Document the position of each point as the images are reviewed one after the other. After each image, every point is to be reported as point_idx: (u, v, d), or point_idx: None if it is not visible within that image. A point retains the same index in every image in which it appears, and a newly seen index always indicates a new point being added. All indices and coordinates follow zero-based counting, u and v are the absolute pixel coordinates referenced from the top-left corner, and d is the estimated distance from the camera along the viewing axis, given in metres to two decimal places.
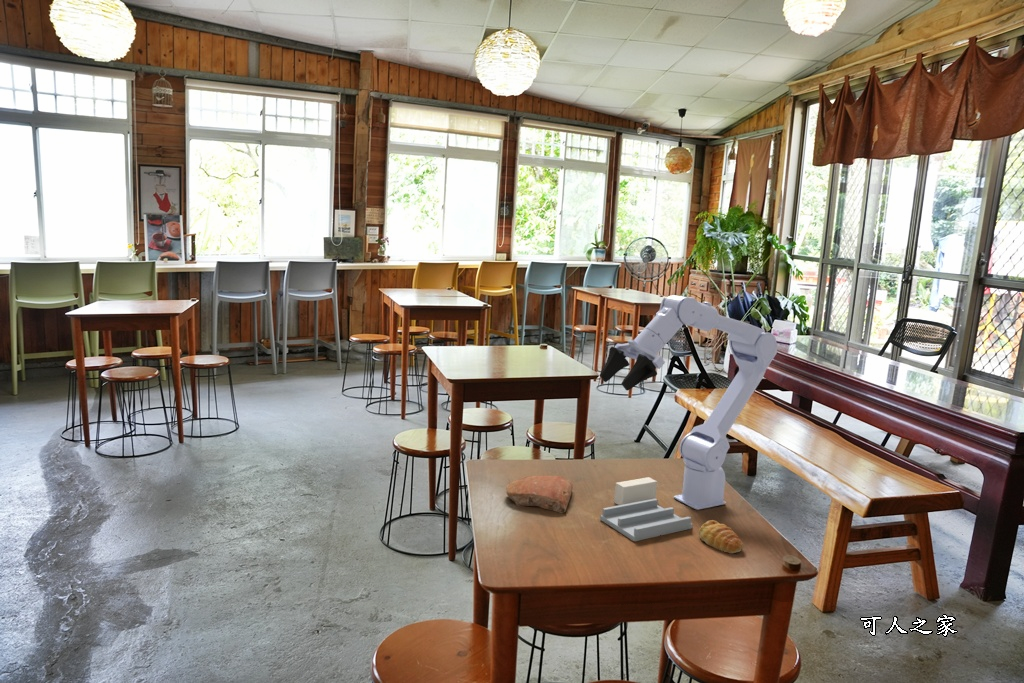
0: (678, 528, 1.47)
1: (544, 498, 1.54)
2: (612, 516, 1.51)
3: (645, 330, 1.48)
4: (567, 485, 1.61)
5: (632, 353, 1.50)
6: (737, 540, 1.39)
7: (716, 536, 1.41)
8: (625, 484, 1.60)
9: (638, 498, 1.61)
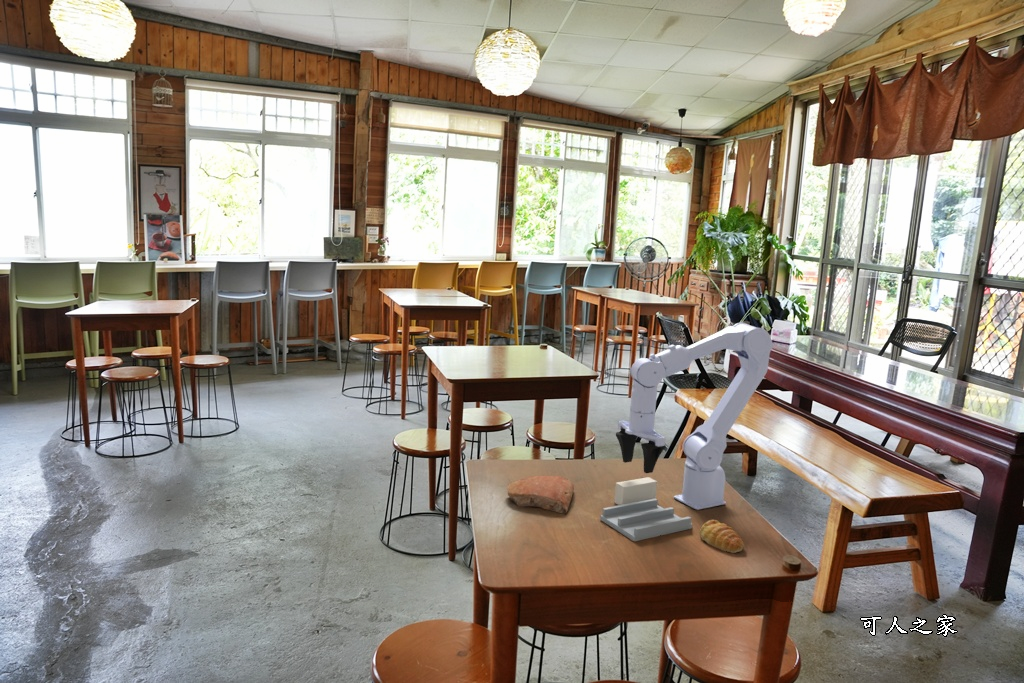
0: (678, 528, 1.47)
1: (546, 498, 1.54)
2: (612, 516, 1.51)
3: (632, 413, 1.58)
4: (568, 486, 1.61)
5: None
6: (738, 539, 1.39)
7: (718, 536, 1.41)
8: (625, 484, 1.60)
9: (638, 498, 1.61)
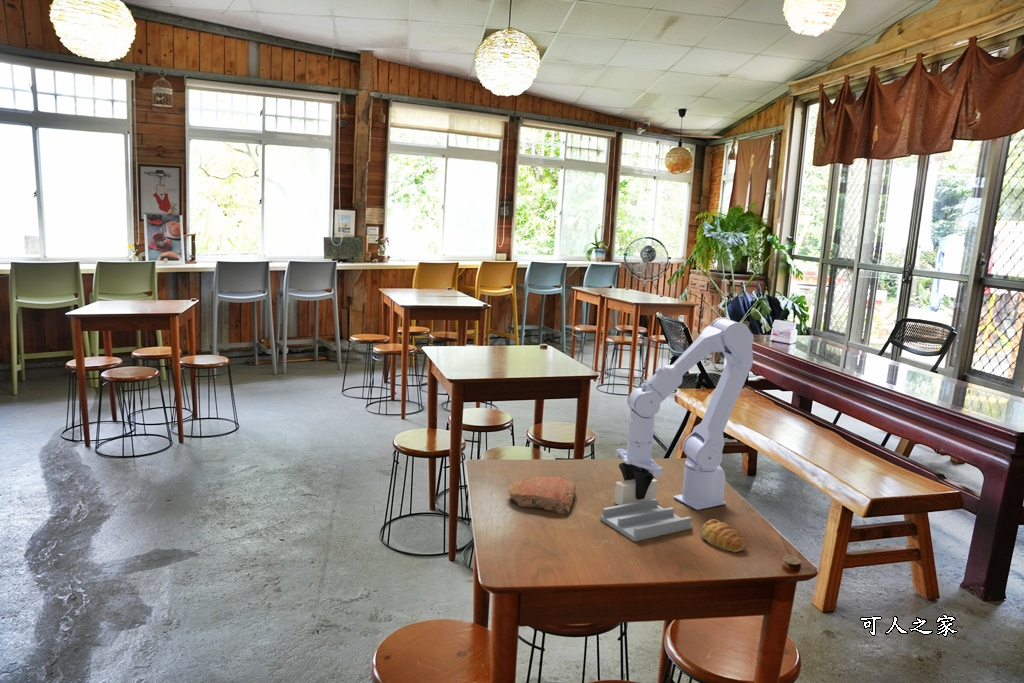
0: (678, 528, 1.47)
1: (548, 499, 1.54)
2: (612, 516, 1.51)
3: (630, 443, 1.59)
4: (570, 487, 1.61)
5: None
6: (739, 539, 1.40)
7: (719, 535, 1.41)
8: (625, 483, 1.60)
9: None
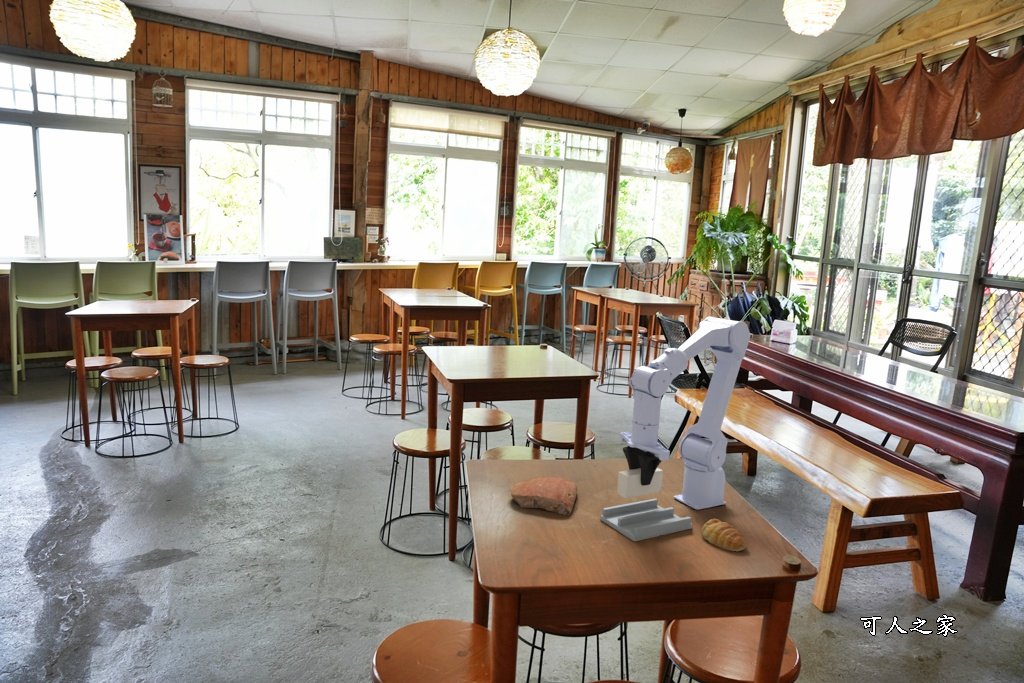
0: (678, 528, 1.47)
1: (549, 500, 1.53)
2: (612, 516, 1.51)
3: (634, 425, 1.49)
4: (572, 487, 1.60)
5: None
6: (740, 538, 1.40)
7: (720, 535, 1.41)
8: (629, 473, 1.50)
9: (642, 488, 1.51)
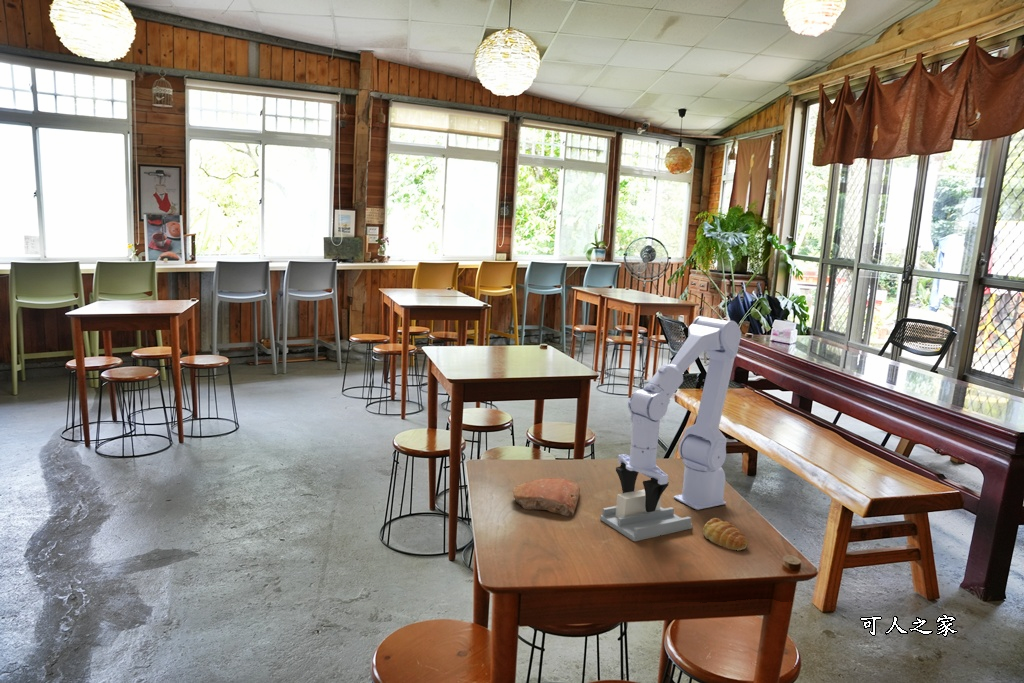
0: (678, 528, 1.47)
1: (552, 501, 1.53)
2: (612, 516, 1.51)
3: (633, 448, 1.49)
4: (575, 489, 1.60)
5: None
6: (742, 537, 1.41)
7: (722, 534, 1.42)
8: (627, 496, 1.50)
9: (641, 511, 1.51)
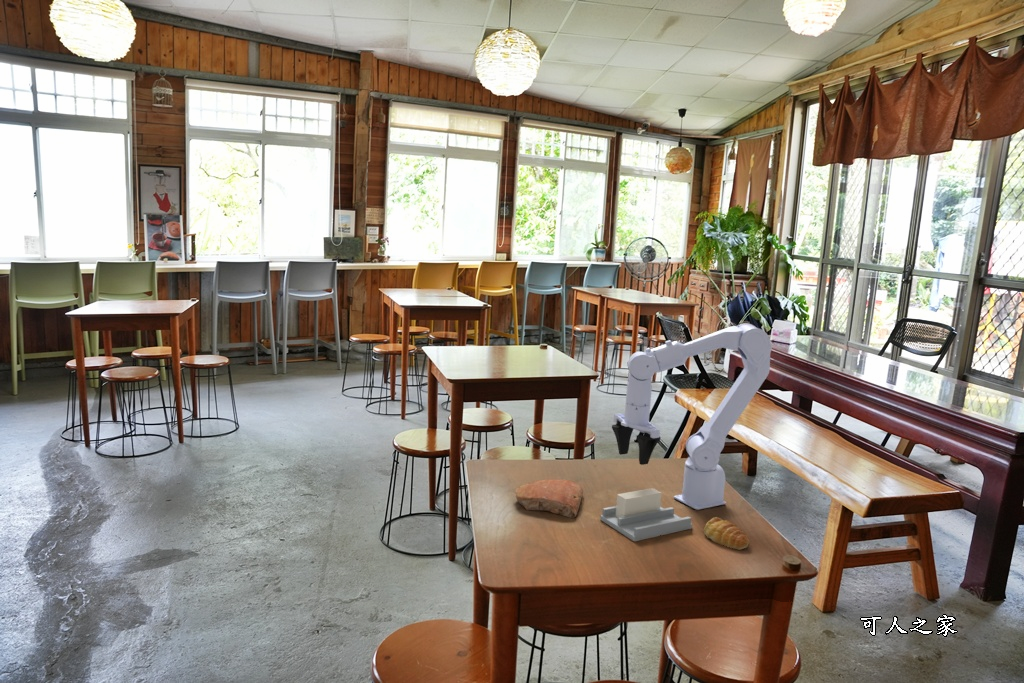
0: (678, 528, 1.47)
1: (555, 502, 1.52)
2: (612, 516, 1.51)
3: (627, 406, 1.61)
4: (577, 490, 1.59)
5: None
6: (744, 536, 1.41)
7: (723, 533, 1.42)
8: (627, 496, 1.50)
9: (641, 511, 1.51)
